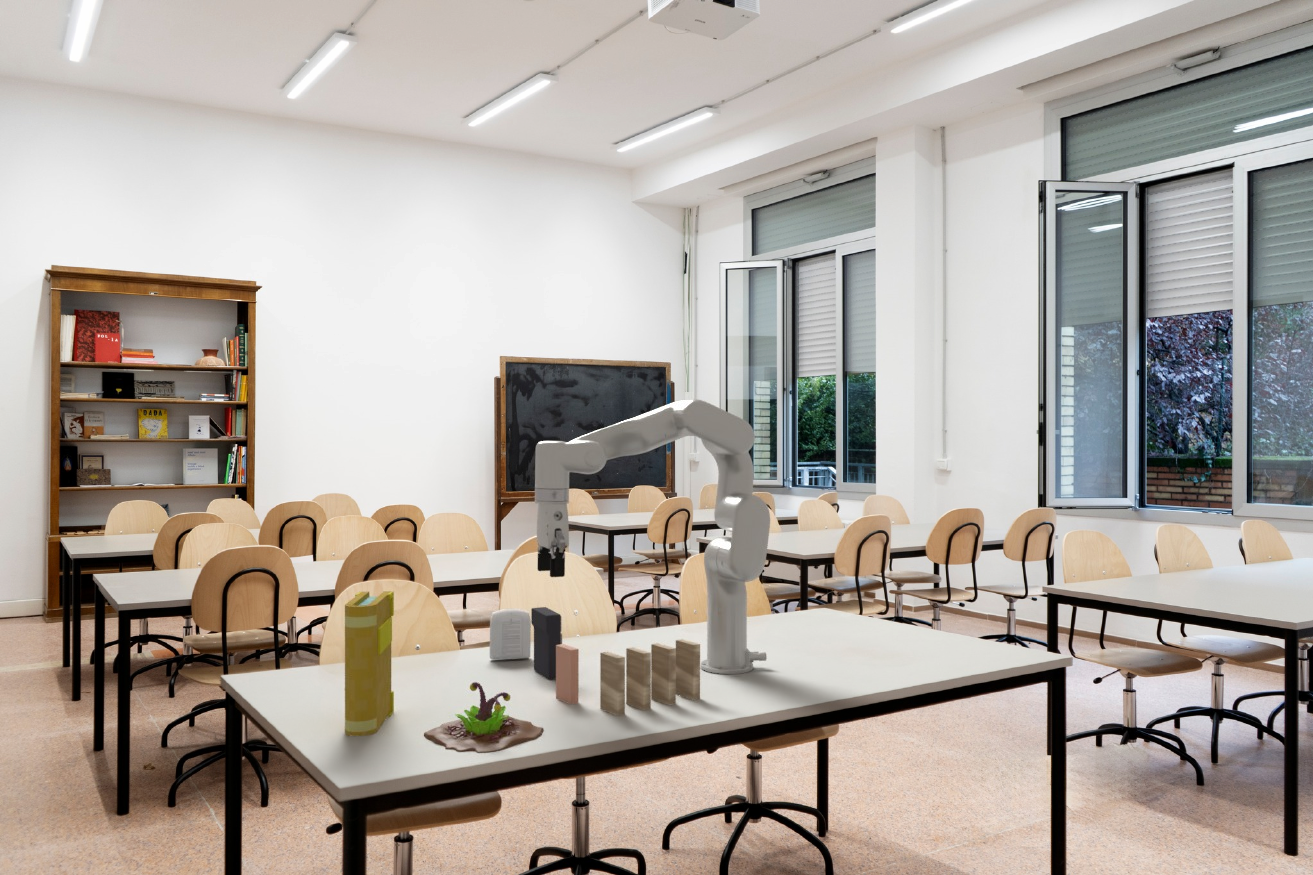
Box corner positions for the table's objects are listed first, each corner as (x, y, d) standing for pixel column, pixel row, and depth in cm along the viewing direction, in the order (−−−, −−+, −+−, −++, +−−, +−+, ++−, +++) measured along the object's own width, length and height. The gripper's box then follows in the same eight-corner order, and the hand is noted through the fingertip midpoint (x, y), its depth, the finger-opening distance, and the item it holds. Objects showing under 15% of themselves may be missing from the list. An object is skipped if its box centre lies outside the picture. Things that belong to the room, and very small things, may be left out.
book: (359, 715, 195) (359, 591, 194) (393, 714, 195) (393, 591, 195) (339, 742, 178) (339, 607, 178) (376, 741, 178) (376, 606, 178)
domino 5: (682, 694, 209) (682, 639, 209) (700, 700, 204) (700, 643, 204) (675, 695, 208) (675, 640, 208) (693, 702, 203) (693, 645, 203)
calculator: (564, 678, 224) (564, 614, 224) (546, 681, 222) (546, 615, 222) (548, 668, 234) (548, 606, 233) (531, 670, 232) (531, 607, 232)
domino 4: (658, 699, 205) (658, 643, 205) (675, 706, 200) (675, 648, 200) (651, 701, 204) (651, 644, 204) (668, 707, 199) (668, 649, 199)
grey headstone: (529, 654, 248) (529, 606, 247) (531, 658, 243) (531, 609, 243) (489, 656, 245) (489, 608, 245) (490, 660, 241) (490, 611, 241)
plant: (489, 721, 192) (489, 664, 192) (559, 741, 180) (559, 681, 180) (405, 746, 177) (405, 685, 177) (476, 770, 165) (476, 704, 164)
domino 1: (563, 700, 206) (563, 643, 206) (578, 706, 201) (578, 649, 201) (555, 701, 205) (555, 645, 205) (571, 708, 200) (571, 650, 200)
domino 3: (633, 704, 201) (633, 647, 201) (650, 711, 196) (650, 652, 196) (626, 706, 200) (626, 648, 200) (643, 713, 195) (643, 653, 195)
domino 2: (607, 710, 197) (607, 651, 197) (624, 717, 192) (624, 657, 192) (600, 711, 196) (600, 652, 196) (617, 718, 191) (617, 658, 191)
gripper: (580, 498, 208) (579, 578, 208) (556, 494, 224) (555, 567, 224) (546, 499, 205) (545, 580, 205) (525, 494, 221) (524, 569, 221)
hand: (550, 573), depth 215 cm, fingers open, 9 cm apart
